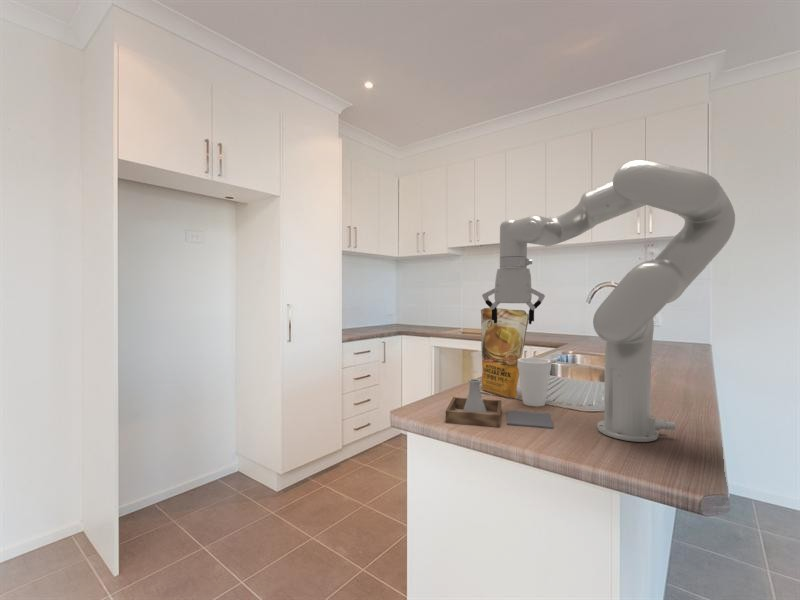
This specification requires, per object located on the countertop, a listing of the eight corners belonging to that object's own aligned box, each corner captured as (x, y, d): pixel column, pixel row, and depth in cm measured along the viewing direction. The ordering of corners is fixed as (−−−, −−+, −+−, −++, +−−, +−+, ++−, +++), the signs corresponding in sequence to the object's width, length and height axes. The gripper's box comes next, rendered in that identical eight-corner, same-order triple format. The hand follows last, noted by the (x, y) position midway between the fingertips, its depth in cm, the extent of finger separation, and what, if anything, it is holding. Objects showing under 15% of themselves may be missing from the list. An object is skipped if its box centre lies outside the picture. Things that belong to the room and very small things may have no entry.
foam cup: (515, 398, 123) (515, 357, 123) (546, 399, 122) (546, 357, 122) (520, 407, 114) (520, 363, 114) (553, 408, 113) (554, 363, 112)
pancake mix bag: (488, 385, 140) (487, 307, 140) (530, 397, 124) (530, 309, 123) (473, 388, 137) (473, 308, 136) (515, 401, 121) (515, 310, 120)
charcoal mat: (549, 414, 107) (549, 413, 107) (553, 428, 97) (553, 427, 97) (507, 411, 110) (507, 410, 110) (506, 424, 100) (507, 423, 100)
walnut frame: (501, 410, 111) (501, 400, 111) (499, 427, 98) (499, 415, 98) (453, 407, 115) (453, 397, 115) (445, 422, 102) (445, 410, 102)
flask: (486, 412, 109) (486, 377, 109) (490, 421, 102) (489, 383, 102) (460, 412, 110) (460, 376, 110) (462, 420, 103) (461, 383, 103)
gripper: (544, 264, 114) (544, 323, 114) (484, 265, 119) (483, 321, 120) (545, 262, 106) (544, 325, 107) (480, 263, 112) (480, 323, 113)
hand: (512, 323), depth 113 cm, fingers open, 9 cm apart
